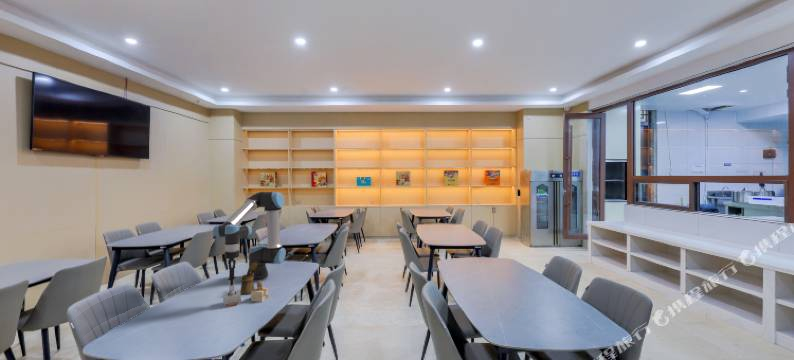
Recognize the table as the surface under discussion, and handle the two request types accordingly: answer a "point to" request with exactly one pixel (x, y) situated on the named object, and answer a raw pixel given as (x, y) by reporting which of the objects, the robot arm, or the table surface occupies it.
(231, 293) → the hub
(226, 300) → the square metal nut
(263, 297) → the stand
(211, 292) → the table surface
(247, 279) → the wooden mug
